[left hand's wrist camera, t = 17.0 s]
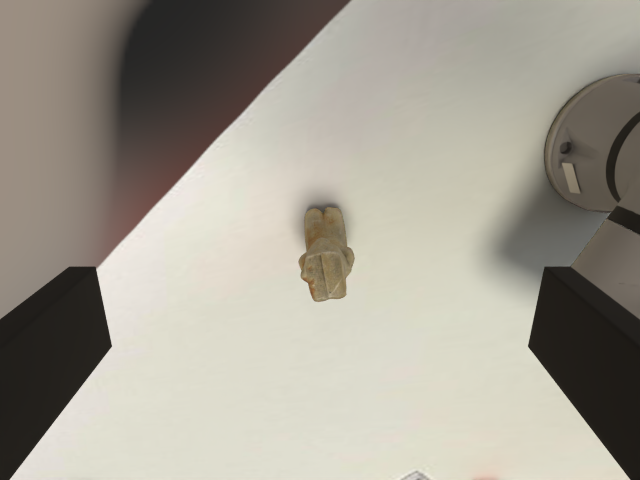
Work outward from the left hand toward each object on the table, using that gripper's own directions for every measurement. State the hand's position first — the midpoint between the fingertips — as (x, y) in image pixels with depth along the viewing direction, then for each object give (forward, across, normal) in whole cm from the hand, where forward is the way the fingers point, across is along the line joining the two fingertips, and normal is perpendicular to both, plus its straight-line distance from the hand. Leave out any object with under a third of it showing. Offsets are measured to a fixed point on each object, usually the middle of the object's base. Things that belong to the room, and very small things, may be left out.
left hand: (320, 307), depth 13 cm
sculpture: (+39, +1, -12) cm, 41 cm away
